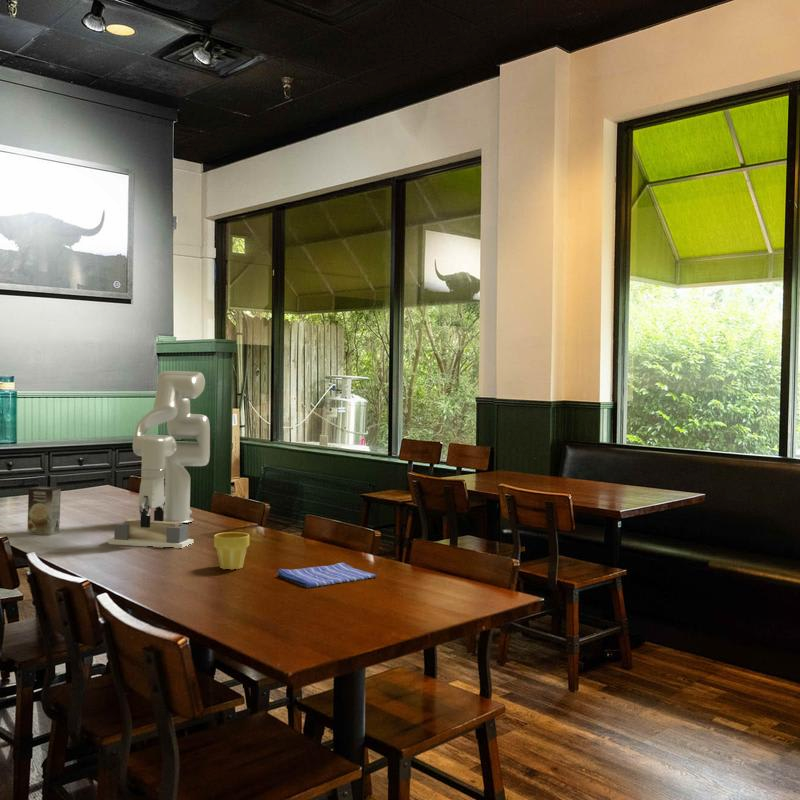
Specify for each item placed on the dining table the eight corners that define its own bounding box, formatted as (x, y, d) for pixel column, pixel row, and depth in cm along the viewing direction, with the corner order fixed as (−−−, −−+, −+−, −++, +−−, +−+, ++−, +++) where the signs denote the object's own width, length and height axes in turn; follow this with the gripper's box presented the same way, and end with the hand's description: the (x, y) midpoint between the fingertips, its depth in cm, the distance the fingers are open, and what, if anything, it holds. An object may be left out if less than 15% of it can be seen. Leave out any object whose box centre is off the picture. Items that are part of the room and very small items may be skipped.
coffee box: (26, 534, 282) (27, 488, 282) (36, 530, 288) (37, 486, 288) (51, 535, 281) (52, 489, 281) (60, 532, 287) (61, 487, 287)
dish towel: (274, 578, 230) (274, 568, 230) (343, 568, 245) (343, 559, 245) (306, 591, 217) (306, 580, 216) (377, 580, 231) (377, 570, 231)
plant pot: (211, 564, 243) (212, 532, 242) (246, 563, 246) (247, 531, 246) (214, 572, 233) (215, 538, 233) (250, 570, 236) (251, 537, 236)
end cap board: (121, 539, 277) (122, 520, 277) (193, 543, 273) (193, 524, 273) (108, 544, 268) (108, 524, 268) (182, 548, 264) (182, 528, 264)
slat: (128, 537, 274) (128, 519, 273) (178, 540, 271) (178, 522, 271) (124, 538, 271) (125, 520, 271) (175, 541, 268) (175, 523, 268)
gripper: (154, 470, 280) (153, 519, 280) (130, 476, 263) (129, 528, 263) (174, 471, 279) (173, 520, 279) (151, 477, 262) (150, 530, 262)
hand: (152, 524), depth 271 cm, fingers open, 9 cm apart
